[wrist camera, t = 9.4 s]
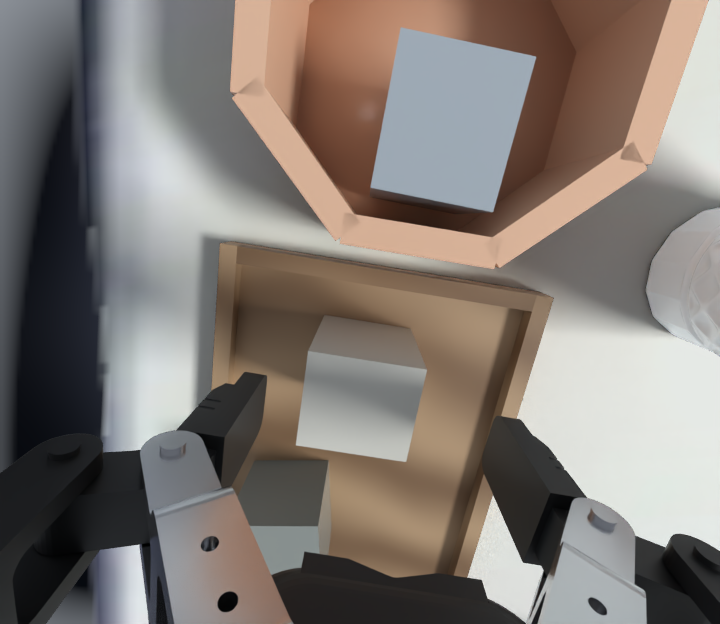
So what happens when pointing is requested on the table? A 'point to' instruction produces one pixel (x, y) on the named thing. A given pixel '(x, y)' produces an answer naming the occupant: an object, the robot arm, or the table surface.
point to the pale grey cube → (361, 389)
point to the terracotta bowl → (535, 126)
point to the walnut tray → (436, 408)
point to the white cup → (689, 281)
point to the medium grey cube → (288, 510)
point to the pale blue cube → (449, 123)
